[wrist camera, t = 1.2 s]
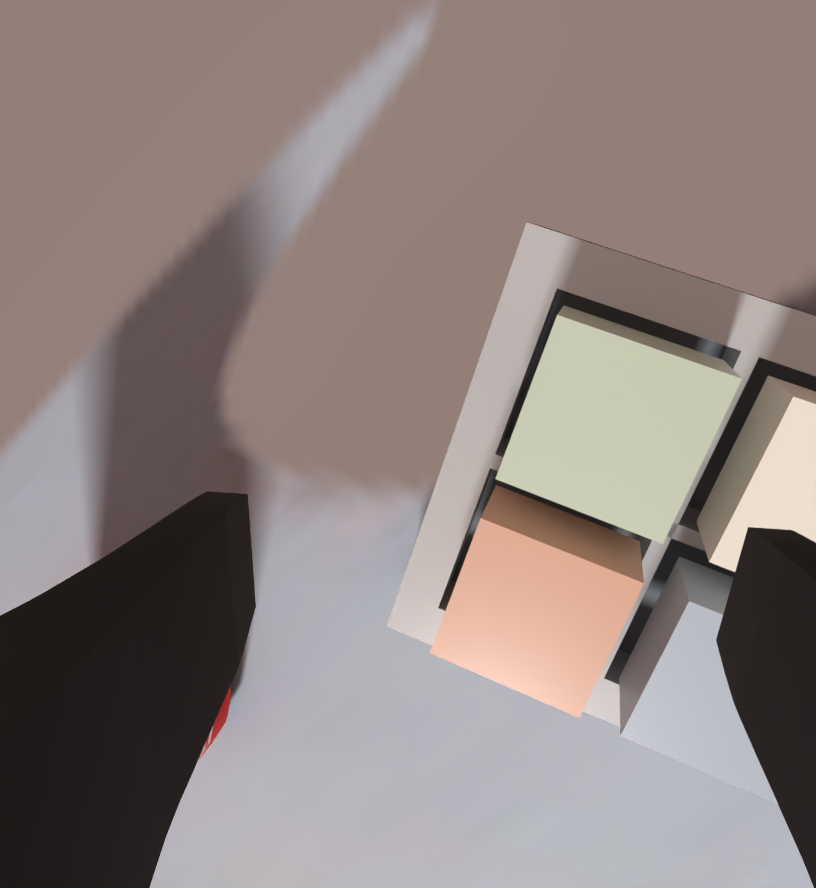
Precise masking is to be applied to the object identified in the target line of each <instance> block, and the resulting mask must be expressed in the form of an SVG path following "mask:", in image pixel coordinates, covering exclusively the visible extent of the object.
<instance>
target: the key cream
mask: <svg viewBox="0 0 816 888" xmlns="http://www.w3.org/2000/svg"><path fill="white" fill-rule="evenodd" d="M696 522H697V525H698V528H699V531H700V535H701V538H702V541H703V544H704V547H705V551H706V554H707V557H708V560H709V562H710V563H713V564H715V565H718V566H720V567H723V568H726V569H728V570H731V571H733V572H735V571H736V568H737V564H738V561H739V557H740V554H741V550H742V547H743V543H744V540H745V536H746V533H747V529H748V527H754V528H769V529H784V530H793V531H795V532H797V533H799V534H801V535H803V536H805V537H807V538H808V539H810V540H812V541H814V542H815V543H816V392H815V391H812V390H809V389H806V388H803V387H800V386H798V385H795V384H792V383H789V382H786V381H783V380H780V379H777V378H774V377H771V376H768V377H767V379H766V381H765V383H764V385H763V387H762V389H761V391H760V393H759V395H758V397H757V399H756V401H755V403H754V405H753V407H752V409H751V411H750V413H749V415H748V417H747V419H746V421H745V423H744V425H743V427H742V430H741V432H740V434H739V436H738V438H737V440H736V442H735V444H734V446H733V448H732V450H731V452H730V454H729V456H728V458H727V460H726V462H725V464H724V466H723V468H722V470H721V472H720V474H719V476H718V478H717V480H716V482H715V484H714V486H713V488H712V491H711V493H710V495H709V497H708V499H707V501H706V503H705V505H704V507H703V509H702V511H701V513H700V515H699V517H698V519H697V521H696Z"/></svg>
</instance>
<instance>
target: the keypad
mask: <svg viewBox="0 0 816 888" xmlns="http://www.w3.org/2000/svg"><path fill="white" fill-rule="evenodd" d="M563 306H567V307H570V308H573V309H576V310H579V311H582V312H585V313H588V314H591V315H593V316H596V317H599V318H602V319H605V320H608V321H611V322H614V323H617V324H620V325H623V326H626V327H628V328H631V329H634V330H637V331H640V332H643V333H646V334H649V335H652V336H655V337H658V338H661V339H663V340H666V341H669V342H672V343H675V344H678V345H681V346H684V347H687V348H690V349H693V350H695V351H698V352H701V353H704V354H707V355H710V356H713V357H716V358H719V359H722V360H724V361H725V362H726V363H727V364H728V365H729V366H730V367H731V368H732V369H733V370H734V371H735V372H736V373H737V374H738V375H739V376H740V377H741V378H742V380H741V382H740V384H739V386H738V388H737V391H736V393H735V395H734V397H733V399H732V401H731V403H730V405H729V407H728V409H727V411H726V413H725V416H724V418H723V420H722V422H721V424H720V426H719V428H718V430H717V432H716V434H715V436H714V438H713V441H712V443H711V445H710V447H709V449H708V451H707V453H706V455H705V457H704V459H703V461H702V463H701V466H700V468H699V470H698V472H697V474H696V476H695V478H694V480H693V482H692V484H691V486H690V489H689V491H688V493H687V495H686V497H685V499H684V501H683V503H682V505H681V507H680V509H679V511H678V514H677V516H676V518H675V520H674V522H673V524H672V526H671V528H670V530H669V532H668V534H667V536H666V539H665V541H664V543H663V544H661V543H659V542H656V541H654V540H651V539H648V538H646V537H643V536H641V535H638V534H635V533H633V532H630V531H628V530H625V529H623V528H620V527H617V526H615V525H612V524H610V523H607V522H605V521H602V520H599V519H597V518H594V517H592V516H589V515H587V514H584V513H581V512H579V511H576V510H574V509H571V508H569V507H566V506H563V505H561V504H558V503H556V502H553V501H551V500H548V499H545V498H543V497H540V496H538V495H535V494H533V493H530V492H527V491H525V490H522V489H520V488H517V487H515V486H512V485H509V484H507V483H504V482H502V481H499V480H497V479H495V478H496V476H497V473H498V470H499V468H500V465H501V463H502V460H503V457H504V455H505V452H506V449H507V447H508V444H509V441H510V439H511V436H512V433H513V431H514V428H515V425H516V423H517V420H518V417H519V415H520V412H521V409H522V407H523V404H524V401H525V399H526V396H527V393H528V391H529V388H530V386H531V383H532V380H533V378H534V375H535V372H536V370H537V367H538V364H539V362H540V359H541V356H542V354H543V351H544V348H545V346H546V343H547V340H548V338H549V335H550V332H551V330H552V327H553V324H554V322H555V319H556V317H557V314H558V313H559V312H560V310H561V309H562V307H563ZM768 376H771V377H774V378H777V379H780V380H783V381H786V382H789V383H792V384H795V385H798V386H800V387H803V388H806V389H809V390H812V391H815V392H816V316H815V315H812V314H809V313H806V312H803V311H800V310H797V309H794V308H790V307H787V306H784V305H781V304H778V303H775V302H772V301H769V300H766V299H763V298H760V297H757V296H754V295H751V294H748V293H744V292H742V291H738V290H735V289H732V288H729V287H726V286H723V285H720V284H717V283H714V282H711V281H708V280H704V279H702V278H699V277H695V276H693V275H689V274H686V273H683V272H680V271H677V270H674V269H671V268H668V267H664V266H662V265H659V264H656V263H653V262H650V261H647V260H644V259H641V258H637V257H634V256H631V255H628V254H625V253H622V252H619V251H616V250H613V249H610V248H607V247H604V246H601V245H597V244H595V243H592V242H588V241H585V240H582V239H579V238H576V237H573V236H570V235H567V234H564V233H561V232H558V231H555V230H552V229H549V228H546V227H542V226H540V225H536V224H532V223H528V222H526V225H525V228H524V231H523V234H522V237H521V240H520V243H519V245H518V248H517V251H516V254H515V257H514V260H513V263H512V266H511V268H510V271H509V274H508V277H507V280H506V283H505V286H504V289H503V292H502V294H501V298H500V300H499V303H498V306H497V309H496V312H495V315H494V317H493V320H492V323H491V326H490V329H489V332H488V335H487V338H486V341H485V343H484V347H483V349H482V352H481V355H480V358H479V361H478V364H477V366H476V369H475V372H474V375H473V378H472V381H471V384H470V387H469V390H468V393H467V395H466V398H465V401H464V404H463V407H462V410H461V413H460V415H459V419H458V421H457V424H456V427H455V431H454V433H453V436H452V439H451V442H450V444H449V447H448V450H447V453H446V456H445V459H444V462H443V465H442V467H441V471H440V473H439V476H438V479H437V482H436V485H435V488H434V490H433V493H432V496H431V499H430V502H429V505H428V508H427V511H426V514H425V516H424V519H423V522H422V525H421V528H420V531H419V534H418V537H417V539H416V542H415V545H414V548H413V551H412V554H411V557H410V560H409V563H408V565H407V568H406V571H405V574H404V577H403V580H402V583H401V586H400V588H399V591H398V594H397V597H396V600H395V603H394V606H393V609H392V612H391V614H390V617H389V620H388V623H387V626H388V627H390V628H392V629H395V630H397V631H399V632H401V633H404V634H406V635H408V636H411V637H413V638H415V639H418V640H420V641H422V642H425V643H427V644H429V645H431V646H433V643H434V640H435V638H436V635H437V632H438V630H439V627H440V624H441V622H442V619H443V616H444V614H445V611H446V608H447V606H448V603H449V601H450V598H451V595H452V593H453V590H454V587H455V585H456V582H457V579H458V577H459V574H460V571H461V569H462V566H463V563H464V561H465V558H466V555H467V553H468V550H469V547H470V545H471V542H472V539H473V537H474V534H475V532H476V529H477V526H478V524H479V521H480V518H481V516H482V514H483V512H484V510H485V508H486V505H487V503H488V501H489V499H490V497H491V495H492V493H493V490H494V488H495V486H496V485H497V486H500V487H503V488H505V489H508V490H510V491H513V492H515V493H518V494H520V495H523V496H526V497H528V498H531V499H533V500H536V501H538V502H541V503H544V504H546V505H549V506H551V507H554V508H556V509H559V510H562V511H564V512H567V513H569V514H572V515H574V516H577V517H579V518H582V519H585V520H587V521H590V522H592V523H595V524H597V525H600V526H603V527H605V528H608V529H610V530H613V531H615V532H618V533H621V534H623V535H626V536H628V537H631V538H633V539H636V540H638V541H640V549H641V558H642V568H643V578H644V584H643V586H642V589H641V591H640V593H639V595H638V597H637V599H636V601H635V603H634V605H633V607H632V609H631V611H630V614H629V616H628V618H627V620H626V622H625V624H624V626H623V628H622V630H621V632H620V634H619V636H618V639H617V641H616V643H615V645H614V647H613V649H612V651H611V653H610V655H609V657H608V659H607V662H606V664H605V666H604V668H603V670H602V672H601V674H600V676H599V678H598V680H597V682H596V684H595V687H594V689H593V691H592V693H591V695H590V697H589V699H588V701H587V703H586V705H585V707H584V709H583V711H584V712H586V713H588V714H591V715H593V716H595V717H598V718H600V719H602V720H605V721H607V722H609V723H611V724H614V725H616V726H618V727H620V692H619V678H620V676H621V674H622V671H623V669H624V667H625V665H626V663H627V661H628V659H629V657H630V655H631V653H632V651H633V649H634V647H635V645H636V643H637V641H638V639H639V637H640V635H641V633H642V631H643V629H644V627H645V625H646V623H647V621H648V619H649V617H650V615H651V613H652V610H653V608H654V606H655V604H656V602H657V600H658V598H659V596H660V594H661V592H662V590H663V588H664V586H665V584H666V582H667V580H668V578H669V576H670V574H671V572H672V570H673V568H674V566H675V564H676V562H677V560H678V558H679V556H680V557H682V558H685V559H687V560H690V561H692V562H695V563H697V564H700V565H703V566H705V567H708V568H710V569H713V570H715V571H718V572H721V573H723V574H726V575H728V576H731V577H733V578H734V575H735V572H733V571H731V570H728V569H726V568H723V567H720V566H718V565H715V564H713V563H710V562H709V560H708V557H707V554H706V551H705V547H704V544H703V541H702V538H701V535H700V531H699V528H698V525H697V522H696V521H697V519H698V517H699V515H700V513H701V511H702V509H703V507H704V505H705V503H706V501H707V499H708V497H709V495H710V493H711V491H712V488H713V486H714V484H715V482H716V480H717V478H718V476H719V474H720V472H721V470H722V468H723V466H724V464H725V462H726V460H727V458H728V456H729V454H730V452H731V450H732V448H733V446H734V444H735V442H736V440H737V438H738V436H739V434H740V432H741V430H742V427H743V425H744V423H745V421H746V419H747V417H748V415H749V413H750V411H751V409H752V407H753V405H754V403H755V401H756V399H757V397H758V395H759V393H760V391H761V389H762V387H763V385H764V383H765V381H766V379H767V377H768Z"/></svg>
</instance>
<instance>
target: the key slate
mask: <svg viewBox="0 0 816 888" xmlns="http://www.w3.org/2000/svg"><path fill="white" fill-rule="evenodd" d="M732 582H733V577H731V576H728V575H726V574H723V573H721V572H718V571H715V570H713V569H710V568H708V567H705V566H703V565H700V564H697V563H695V562H692V561H690V560H687V559H685V558H682V557H680V556H679V558H678V560H677V562H676V564H675V566H674V568H673V570H672V572H671V574H670V576H669V578H668V580H667V582H666V584H665V586H664V588H663V590H662V592H661V594H660V596H659V598H658V600H657V602H656V604H655V606H654V608H653V610H652V613H651V615H650V617H649V619H648V621H647V623H646V625H645V627H644V629H643V631H642V633H641V635H640V637H639V639H638V641H637V643H636V645H635V647H634V649H633V651H632V653H631V655H630V657H629V659H628V661H627V663H626V665H625V667H624V669H623V671H622V674H621V676H620V678H619V692H620V736H622V737H624V738H626V739H629V740H631V741H633V742H636V743H638V744H640V745H642V746H645V747H647V748H649V749H652V750H654V751H656V752H659V753H661V754H663V755H665V756H668V757H670V758H672V759H675V760H677V761H679V762H681V763H684V764H686V765H688V766H691V767H693V768H695V769H698V770H700V771H702V772H704V773H707V774H709V775H711V776H714V777H716V778H718V779H721V780H723V781H725V782H727V783H730V784H732V785H734V786H737V787H739V788H741V789H744V790H746V791H748V792H750V793H753V794H755V795H757V796H760V797H762V798H764V799H766V800H769V801H771V802H773V803H776V804H778V803H777V801H776V798H775V796H774V794H773V792H772V789H771V787H770V785H769V783H768V780H767V778H766V776H765V774H764V772H763V769H762V767H761V765H760V763H759V760H758V758H757V756H756V754H755V751H754V749H753V747H752V745H751V742H750V740H749V738H748V735H747V733H746V731H745V729H744V726H743V724H742V722H741V719H740V717H739V715H738V712H737V710H736V707H735V705H734V702H733V699H732V696H731V692H730V689H729V686H728V682H727V679H726V676H725V672H724V668H723V665H722V661H721V657H720V653H719V650H718V646H717V642H716V638H717V635H718V631H719V628H720V624H721V621H722V617H723V613H724V610H725V606H726V603H727V599H728V596H729V592H730V589H731V585H732Z"/></svg>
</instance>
